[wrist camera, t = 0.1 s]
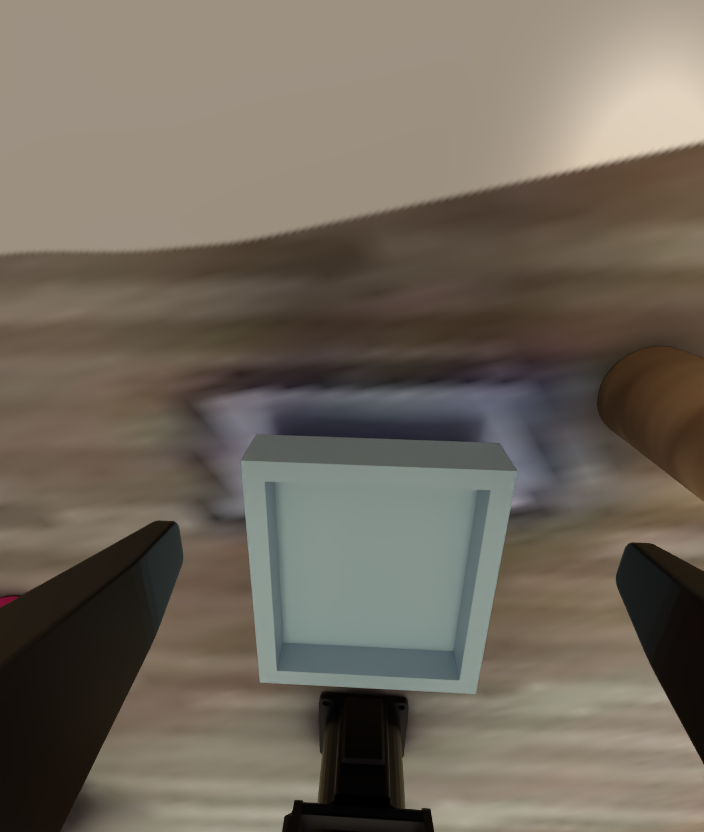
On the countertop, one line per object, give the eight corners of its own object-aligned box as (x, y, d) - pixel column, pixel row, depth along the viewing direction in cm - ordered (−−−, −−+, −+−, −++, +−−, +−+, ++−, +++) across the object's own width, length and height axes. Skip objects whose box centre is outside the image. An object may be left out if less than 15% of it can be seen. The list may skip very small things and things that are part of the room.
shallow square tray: (458, 617, 28) (475, 694, 24) (278, 609, 29) (259, 682, 24) (487, 423, 23) (517, 471, 18) (267, 416, 24) (240, 460, 19)
